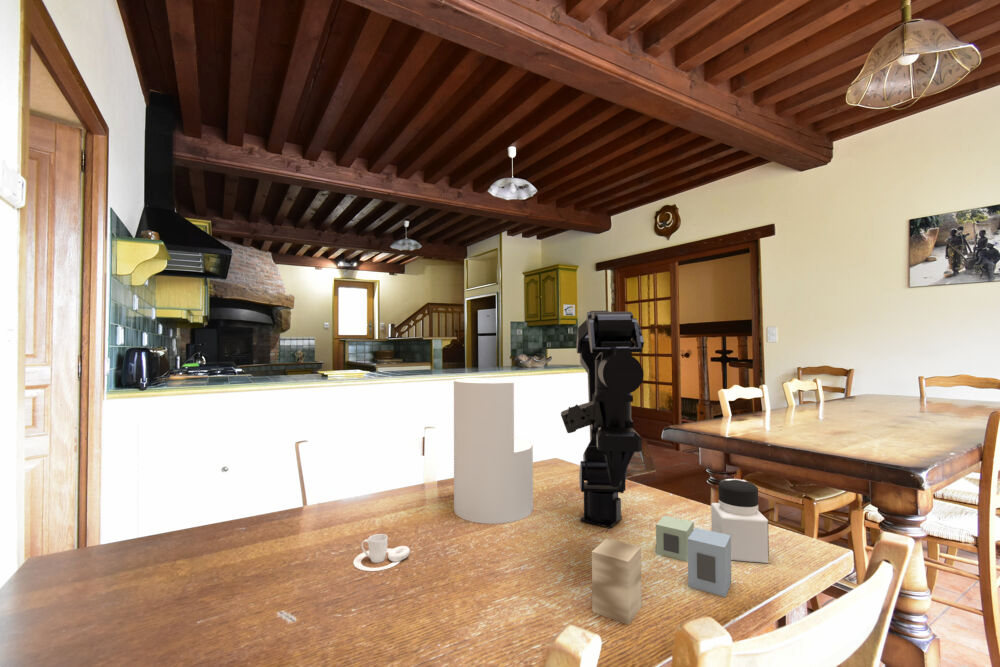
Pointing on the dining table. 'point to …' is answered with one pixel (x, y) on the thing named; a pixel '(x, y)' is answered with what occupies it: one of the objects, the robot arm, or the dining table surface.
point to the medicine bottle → (741, 521)
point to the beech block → (616, 580)
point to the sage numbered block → (673, 537)
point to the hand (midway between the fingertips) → (613, 483)
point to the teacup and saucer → (380, 553)
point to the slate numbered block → (709, 561)
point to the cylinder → (489, 454)
